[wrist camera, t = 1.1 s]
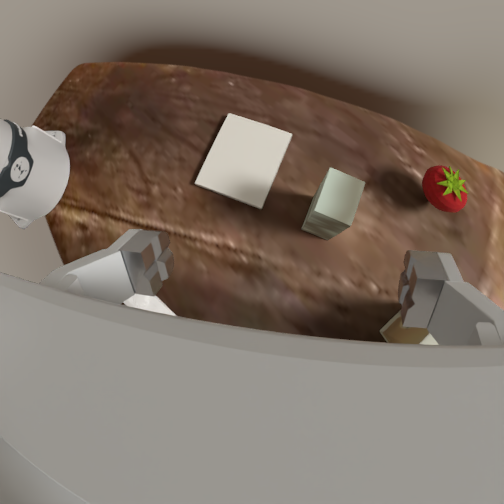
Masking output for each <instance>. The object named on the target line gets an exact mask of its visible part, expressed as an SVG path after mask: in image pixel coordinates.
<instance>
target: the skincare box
mask: <svg viewBox="0 0 504 504" xmlns="http://www.w3.org/2000/svg"><path fill="white" fill-rule="evenodd" d="M400 311H401V310H400ZM400 311H399V312H398V313H397V314H396V315H395V316H394V317H393V318H392V319H391V320H390V321H389V322H388V323H387V324H386V325H385V326H384V327H383V328H382V329H380V333H381V334H382V336H383V337H384V339H385V340H386V342H387V343H402V344H424V345H439V344H438V343H437V342H436V340H435V339H434V338H433V337H432V335H431V334H430V333H429V331H428V330H427V328H417V327H405V326H403V325H402V319H401V312H400Z"/></svg>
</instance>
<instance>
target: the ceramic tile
mask: <svg viewBox="0 0 504 504" xmlns="http://www.w3.org/2000/svg"><path fill="white" fill-rule="evenodd" d="M291 138H292V134H291V133H288V132H285V131H282V130H280V129H277V128H274V127H271V126H268V125H265V124H262V123H259V122H256V121H253V120H250V119H246V118H243V117H240V116H237V115H233V114H230V113H229V114H228V116H227V118H226V120H225V121H224V123H223V125H222V127H221V129H220V131H219V133H218V135H217V137H216V139H215V141H214V143H213V146H212V148H211V150H210V152H209V154H208V156H207V158H206V160H205V162H204V164H203V166H202V169H201V171H200V173H199V175H198V177H197V179H196V182H195V184H196V185H197V186H200V187H202V188H205V189H208V190H211V191H213V192H216V193H219V194H221V195H224V196H227V197H229V198H232V199H235V200H237V201H240V202H243V203H245V204H248V205H250V206H253V207H256V208H258V209H261V210H262V208H263V205H264V203H265V200H266V198H267V196H268V193H269V191H270V188H271V186H272V183H273V181H274V179H275V176H276V174H277V171H278V169H279V167H280V164H281V162H282V159H283V157H284V155H285V152H286V150H287V147H288V145H289V143H290V140H291Z"/></svg>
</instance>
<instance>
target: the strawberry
mask: <svg viewBox="0 0 504 504" xmlns="http://www.w3.org/2000/svg"><path fill="white" fill-rule="evenodd" d="M465 181H466V180H461V179H460V177H459V169H458V170H457V172H456V173H455V172H454V171H452V169H451V167H450V166H449V168H447V167H445V166H434V167H431V168H429V169H428V170H427V171H426V173H425V175H424V178H423V181H422V187H423V191H424V194H425V196H426V198H427V200H428V201H429V202H430V203H431V204H432V205H433V206H435V207H436V208H437V209H439V210H441V211H445V212H452V213H453V212H458V211H460V210H461V209H462V208H463V207H464V206H465V204H466V202H467V194H468V193H467V191H466V188H465V186H464V182H465Z"/></svg>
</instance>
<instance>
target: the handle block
mask: <svg viewBox="0 0 504 504" xmlns="http://www.w3.org/2000/svg"><path fill="white" fill-rule="evenodd" d="M364 185H365V182H363V181H361V180H359V179H356V178H354V177H352V176H350V175H347V174H345V173H343V172H340V171H338V170H336V169H333V168H331V167H330V169H329V170H328V172H327V174H326V176H325V177H324V179H323V181H322V183H321V184H320V186H319V188H318V190H317V192H316V193H315V195H314V197H313V199H312V202H311V205H310V207H309V210H308V213H307V215H306V218H305V221H304V223H303V226H302V228H301V230H304V231H306V232H309V233H311V234H314V235H316V236H318V237H321V238H323V239H326V240H329V239H331V238H333V237H334V236H336V235H337V234H339V233H341V232H342V231H344V230H345V229H347V228H349V227H350V226H351V224H352V221H353V219H354V216H355V213H356V210H357V207H358V204H359V200H360V197H361V194H362V191H363V188H364Z"/></svg>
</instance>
